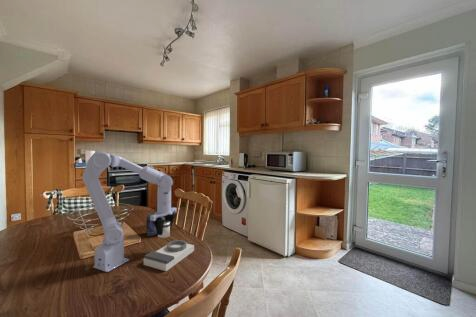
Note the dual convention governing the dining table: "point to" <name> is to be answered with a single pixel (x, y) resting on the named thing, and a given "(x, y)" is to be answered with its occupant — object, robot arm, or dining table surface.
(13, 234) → the dining table surface
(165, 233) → the lens
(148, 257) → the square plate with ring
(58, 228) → the dining table surface
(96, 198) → the robot arm
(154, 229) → the small box
